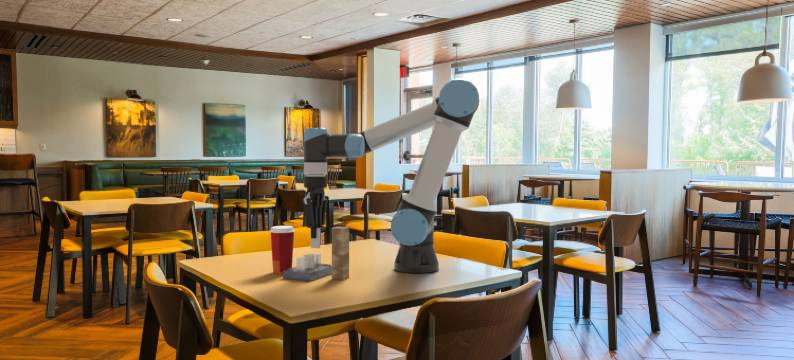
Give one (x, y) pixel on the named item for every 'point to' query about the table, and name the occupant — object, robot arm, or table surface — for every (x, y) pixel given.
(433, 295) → the table surface
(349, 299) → the table surface
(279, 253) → the coffee cup
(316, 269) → the breaker board
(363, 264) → the table surface
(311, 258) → the breaker paddle
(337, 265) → the mottled brown post
